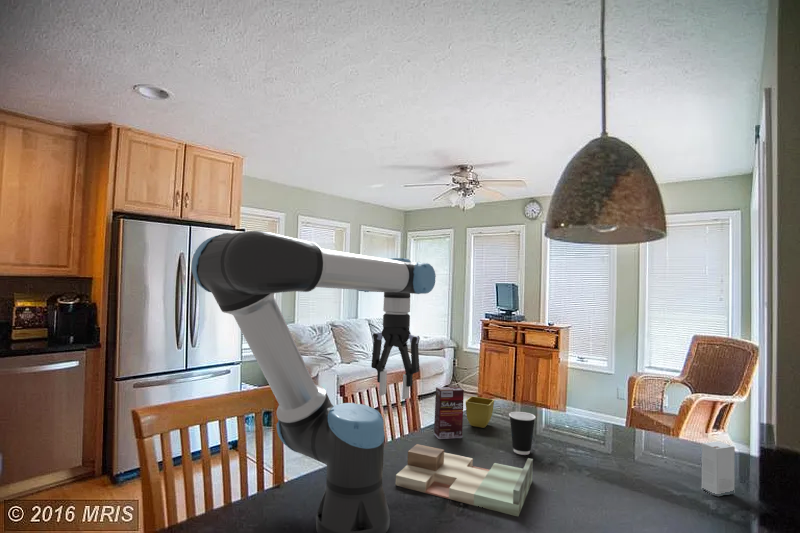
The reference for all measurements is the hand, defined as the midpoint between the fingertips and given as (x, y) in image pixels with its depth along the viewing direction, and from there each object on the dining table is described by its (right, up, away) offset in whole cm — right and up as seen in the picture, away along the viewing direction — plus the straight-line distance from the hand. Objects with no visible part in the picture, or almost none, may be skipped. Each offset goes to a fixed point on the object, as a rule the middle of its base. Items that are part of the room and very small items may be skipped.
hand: (394, 396), depth 119 cm
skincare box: (+82, -21, -11) cm, 85 cm away
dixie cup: (+39, -21, +12) cm, 46 cm away
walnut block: (+9, -17, -5) cm, 19 cm away
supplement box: (+18, -21, +24) cm, 36 cm away
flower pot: (+30, -22, +36) cm, 52 cm away
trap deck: (+18, -19, -10) cm, 28 cm away
